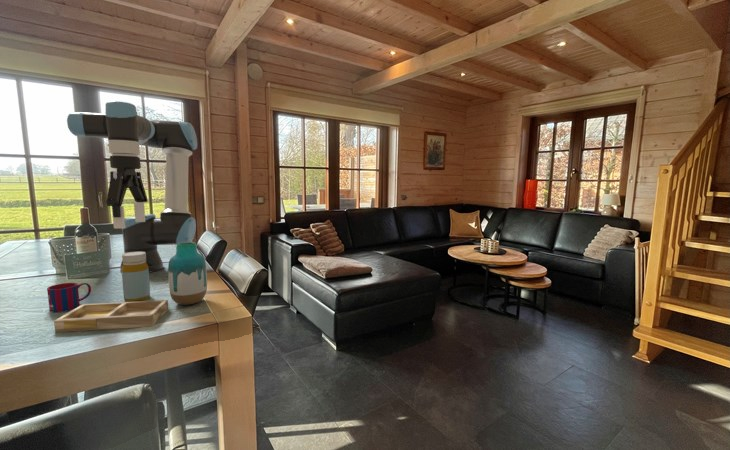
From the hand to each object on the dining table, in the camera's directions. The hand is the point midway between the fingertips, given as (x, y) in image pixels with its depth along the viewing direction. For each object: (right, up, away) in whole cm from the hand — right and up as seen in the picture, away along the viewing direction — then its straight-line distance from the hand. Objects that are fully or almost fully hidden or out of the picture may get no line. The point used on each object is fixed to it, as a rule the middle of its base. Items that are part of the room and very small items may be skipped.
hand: (130, 225), depth 103 cm
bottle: (-1, -24, +4) cm, 24 cm away
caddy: (+5, -26, -12) cm, 29 cm away
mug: (-15, -25, -3) cm, 29 cm away
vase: (+18, -25, +1) cm, 31 cm away
